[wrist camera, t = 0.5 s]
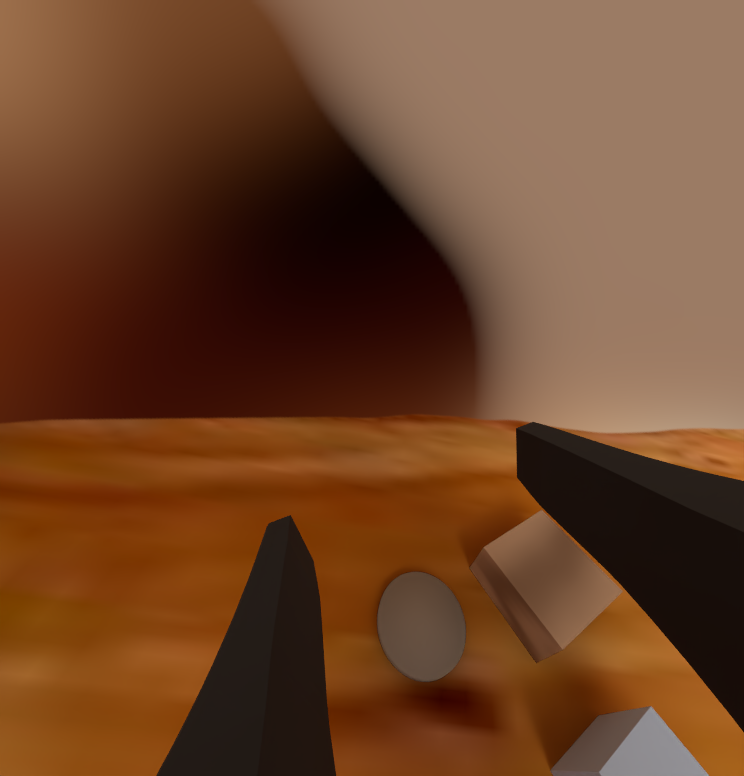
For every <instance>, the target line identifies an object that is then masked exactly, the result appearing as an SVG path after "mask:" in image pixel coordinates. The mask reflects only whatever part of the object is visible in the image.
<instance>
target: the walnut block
mask: <svg viewBox="0 0 744 776" xmlns="http://www.w3.org/2000/svg"><path fill="white" fill-rule="evenodd" d="M470 570H471V571H472V573H473V574H474V575H475V577H476V578H477V580H478V581H479V583H480V584H481V585H482V587H483V588H484V590H485V591H486V592H487V594H488V595H489V597H490V598H491V600H492V601H493V602H494V604H495V605H496V607H497V608H498V609H499V611H500V612H501V614H502V615H503V617H504V618H505V619H506V621H507V622H508V624H509V625H510V626H511V628H512V629H513V631H514V632H515V634H516V635H517V636H518V638H519V639H520V641H521V642H522V643H523V645H524V646H525V648H526V649H527V651H528V652H529V653H530V655H531V656H532V658H533V659H534V660H535V662H536V663H537V662H539V661H541V660H543V659H545V658H547V657H549V656H551V655H553V654H555V653H557V652H559V651H561V650H563V649H564V648H565V647H566V646H567V645H568V644H569V643H570V642H571V641H572V640H573V639H574V638H575V637H576V636H578V635H579V634H580V633H581V632H582V631H583V630H584V629H585V628H586V627H587V626H588V625H589V624H590V623H591V622H592V621H593V620H594V619H595V618H596V617H597V616H598V615H599V614H600V613H601V612H602V611H603V610H604V609H605V608H606V607H607V606H608V605H609V604H610V603H611V602H612V601H613V600H614V599H616V598H617V597H618V596H619V595H620V594H621V593H622V592H623V591H622V590H621V589H620V588H619V587H618V586H617V585H616V584H615V583H614V582H613V581H612V580H611V579H610V578H609V577H608V576H607V575H606V574H605V573H604V572H603V571H602V570H601V569H600V568H599V567H598V566H597V565H596V564H595V563H594V562H593V561H592V560H591V559H590V558H589V557H588V556H587V555H586V554H585V553H584V552H583V551H582V550H581V549H580V548H579V547H578V546H577V545H576V544H575V543H574V542H573V541H572V540H571V539H570V538H569V537H568V536H567V535H566V534H565V533H564V532H563V531H562V530H561V529H560V528H559V527H558V526H557V525H556V524H555V523H554V522H553V521H552V520H551V519H550V518H549V517H548V516H547V515H546V514H545V513H544V512H543V511H542V510H541V511H539V512H538V513H536V514H535V515H533V516H531V517H530V518H528V519H527V520H525V521H524V522H522V523H521V524H519V525H517V526H516V527H514V528H513V529H511V530H510V531H508V532H507V533H505V534H503V535H502V536H500V537H499V538H497V539H496V540H494V541H493V542H491V543H489V544H488V545H486V546H485V547H483V549H482V550H481V552H480V553H479V555H478V556H477V558H476V559H475V561H474V562H473V563H472V565H471V566H470Z"/></svg>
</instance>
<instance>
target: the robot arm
mask: <svg viewBox="0 0 744 776" xmlns="http://www.w3.org/2000/svg"><path fill="white" fill-rule="evenodd" d="M516 442H517V478H518V479H519V480H520V481H521V483H522V484H523V485H524V486H525V488H526V489H527V490H528V492H529V493H530V494H531V495H532V496H533V498H534V499H535V500H536V501H537V502H538V503H539V505H540V506H541V507H542V508H543V509H544V510H545V511H546V512H547V513H548V514H549V515H550V516H551V517H552V518H553V519H554V520H556V521H557V522H558V523H559V524H560V525H561V526H562V527H563V528H564V529H565V530H566V531H567V532H568V533H569V534H570V535H571V536H572V537H573V538H574V539H575V540H576V541H577V542H578V543H579V544H580V545H581V546H582V547H583V548H584V549H585V550H587V551H588V552H589V553H590V554H591V555H592V556H593V557H594V558H595V559H596V560H597V561H598V562H599V563H600V564H601V565H602V566H603V567H604V568H605V569H606V570H607V571H608V572H609V573H610V574H611V575H612V576H613V577H614V578H615V579H616V580H617V581H618V582H619V583H620V584H621V585H622V586H623V588H624V589H625V590H626V591H627V592H628V593H629V594H630V596H631V597H632V598H633V599H634V600H635V601H636V602H637V603H638V605H639V606H640V607H641V608H642V609H643V610H644V611H645V613H646V614H647V615H648V616H649V617H650V618H651V619H652V620H653V622H654V623H655V624H656V625H657V626H658V627H659V629H660V630H661V631H662V632H663V633H664V635H665V636H666V637H667V638H668V639H669V640H670V642H671V643H672V644H673V645H674V646H675V648H676V649H677V650H678V651H679V652H680V653H681V655H682V656H683V657H684V658H685V659H686V661H687V662H688V663H689V664H690V665H691V667H692V668H693V669H694V670H695V672H696V673H697V674H698V675H699V677H700V678H701V679H702V680H703V682H704V683H705V684H706V685H707V686H708V688H709V689H710V690H711V691H712V693H713V694H714V695H715V696H716V698H717V699H718V700H719V701H720V703H721V704H722V705H723V706H724V708H725V709H726V710H727V711H728V713H729V714H730V715H731V716H732V718H733V719H734V720H735V721H736V723H737V724H738V725H739V727H740V728H741V729H742V731H743V732H744V481H741V480H737V479H732V478H728V477H723V476H719V475H714V474H710V473H706V472H701V471H697V470H693V469H689V468H685V467H681V466H677V465H674V464H670V463H666V462H663V461H659V460H655V459H652V458H648V457H645V456H641V455H638V454H634V453H631V452H628V451H624V450H621V449H618V448H615V447H612V446H608V445H605V444H602V443H599V442H596V441H593V440H590V439H586V438H583V437H580V436H577V435H574V434H571V433H568V432H565V431H562V430H559V429H556V428H552V427H549V426H546V425H543V424H539V423H535V422H532V423H529V424H526V425H524V426H521V427H519V428H516ZM156 776H336V771H335V764H334V757H333V750H332V743H331V736H330V728H329V718H328V708H327V696H326V681H325V665H324V650H323V635H322V620H321V606H320V596H319V590H318V584H317V578H316V573H315V567H314V561H313V559H312V557H311V555H310V553H309V551H308V549H307V547H306V545H305V543H304V541H303V539H302V537H301V535H300V533H299V531H298V529H297V527H296V525H295V523H294V521H293V519H292V517H291V515H290V516H287V517H284V518H282V519H279V520H277V521H274V522H271V523H269V524H268V526H267V528H266V531H265V534H264V537H263V540H262V543H261V545H260V548H259V551H258V554H257V557H256V560H255V562H254V565H253V568H252V571H251V573H250V576H249V579H248V581H247V584H246V586H245V589H244V592H243V594H242V597H241V599H240V602H239V604H238V607H237V609H236V612H235V614H234V617H233V619H232V621H231V624H230V626H229V628H228V631H227V633H226V635H225V637H224V640H223V642H222V644H221V647H220V649H219V651H218V653H217V656H216V658H215V660H214V663H213V665H212V667H211V669H210V671H209V673H208V675H207V678H206V680H205V682H204V684H203V686H202V688H201V690H200V692H199V694H198V696H197V698H196V700H195V703H194V705H193V707H192V709H191V710H190V712H189V714H188V716H187V718H186V720H185V722H184V724H183V726H182V728H181V730H180V732H179V734H178V736H177V738H176V740H175V742H174V744H173V746H172V748H171V749H170V751H169V753H168V755H167V757H166V759H165V761H164V762H163V764H162V766H161V768H160V770H159V772H158V774H157V775H156Z"/></svg>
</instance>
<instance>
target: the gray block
mask: <svg viewBox="0 0 744 776" xmlns="http://www.w3.org/2000/svg"><path fill="white" fill-rule="evenodd" d="M550 771H551V772H552V774H553V776H709V775H708V774H707V773H706V771H705V770H704V769H703V768H702V767H701V765H700V764H699V763H698V762H697V761H696V759H695V758H694V757H693V756H692V755H691V753H690V752H689V751H688V750H687V749H686V747H685V746H684V745H683V744H682V743H681V741H680V740H679V739H678V738H677V737H676V735H675V734H674V733H673V732H672V731H671V729H670V728H669V727H668V726H667V725H666V724H665V722H664V721H663V720H662V719H661V718H660V716H659V715H658V714H657V713H656V712H655V710H654V709H653V708H652V707H651V706H649V707H643V708H638V709H632V710H626V711H621V712H615V713H610V714H604V715H598V716H597V718H596V719H595V720H594V721H593V722H592V723H591V724H590V726H589V727H588V728H587V729H586V730H585V731H584V732H583V733H582V735H581V736H580V737H579V738H578V739H577V740H576V741H575V743H574V744H573V745H572V746H571V747H570V748H569V749H568V751H567V752H566V753H565V754H564V755H563V756H562V757H561V759H560V760H559V761H558V762H557V763H556V764H555V765H554V767H553V768H552V769H551V770H550Z"/></svg>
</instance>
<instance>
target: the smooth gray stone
mask: <svg viewBox="0 0 744 776" xmlns="http://www.w3.org/2000/svg"><path fill="white" fill-rule="evenodd" d="M377 629H378V636H379V640H380V643H381V646H382V648H383V651H384V653H385V655H386V656H387V658H388V659H389V661H390V662H391V663H392V665H393V666H394V667H395V668H396V669H397V670H398V671H399V672H400V673H402V674H403V675H405V676H406V677H408V678H410V679H413V680H416V681H421V682H431V681H435V680H438V679H440V678H442V677H444V676H445V675H447V674H448V673H449V672H450V671H451V670H452V669H453V668H454V667H455V666H456V665H457V663H458V662H459V660H460V658H461V656H462V653H463V651H464V646H465V640H466V626H465V620H464V615H463V612H462V609H461V607H460V604H459V602H458V600H457V599H456V597H455V595H454V594H453V593H452V591H451V590H450V589H449V588H448V587H447V586H446V585H445V584H444V583H443V582H442V581H441V580H439V579H438V578H436V577H434V576H432V575H430V574H427V573H424V572H408V573H405V574H402V575H400V576H398V577H397V578H395V579H394V580H393V581H392V582H391V583H390V584H389V585H388V587H387V588H386V590H385V591H384V593H383V595H382V598H381V601H380V604H379V608H378V614H377Z"/></svg>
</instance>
